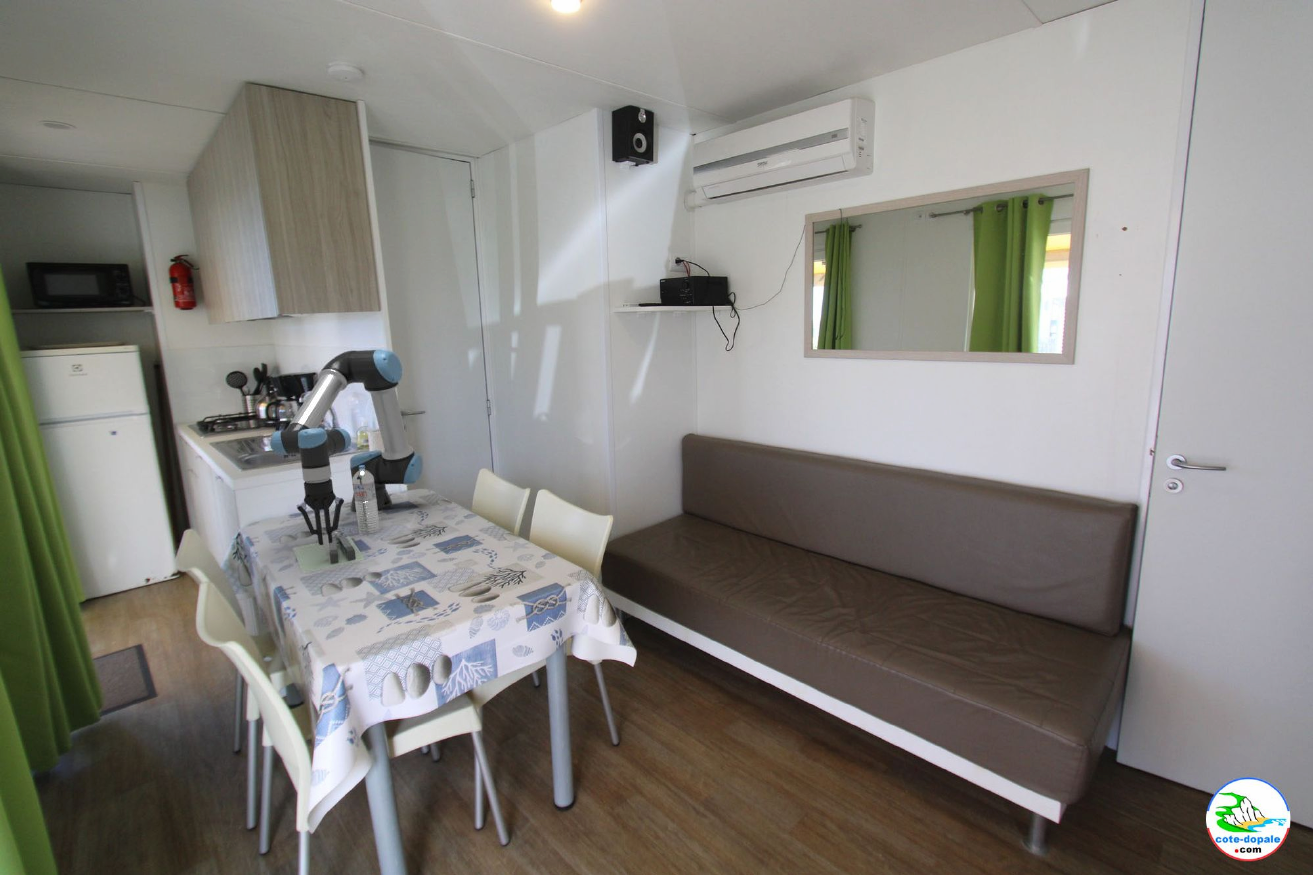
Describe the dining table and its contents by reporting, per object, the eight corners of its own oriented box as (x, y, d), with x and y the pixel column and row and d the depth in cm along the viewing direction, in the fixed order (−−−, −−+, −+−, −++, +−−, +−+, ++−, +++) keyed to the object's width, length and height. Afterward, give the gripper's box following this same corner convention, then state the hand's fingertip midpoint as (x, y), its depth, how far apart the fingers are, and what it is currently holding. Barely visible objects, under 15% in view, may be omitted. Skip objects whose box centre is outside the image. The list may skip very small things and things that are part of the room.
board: (349, 539, 210) (349, 536, 210) (365, 562, 190) (365, 559, 189) (293, 551, 200) (292, 547, 200) (303, 577, 180) (302, 573, 180)
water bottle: (354, 536, 213) (346, 467, 208) (371, 530, 219) (363, 462, 214) (367, 539, 210) (359, 469, 205) (384, 533, 216) (377, 464, 211)
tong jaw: (337, 544, 202) (336, 536, 201) (338, 562, 187) (337, 553, 186) (330, 545, 201) (329, 537, 200) (331, 563, 186) (329, 554, 185)
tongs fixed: (342, 537, 209) (341, 527, 208) (356, 559, 190) (355, 547, 189) (327, 540, 206) (326, 530, 205) (340, 562, 187) (338, 551, 186)
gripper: (339, 474, 191) (347, 545, 196) (291, 480, 184) (301, 555, 188) (343, 478, 185) (352, 552, 190) (294, 485, 178) (304, 562, 182)
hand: (326, 553), depth 189 cm, fingers closed
